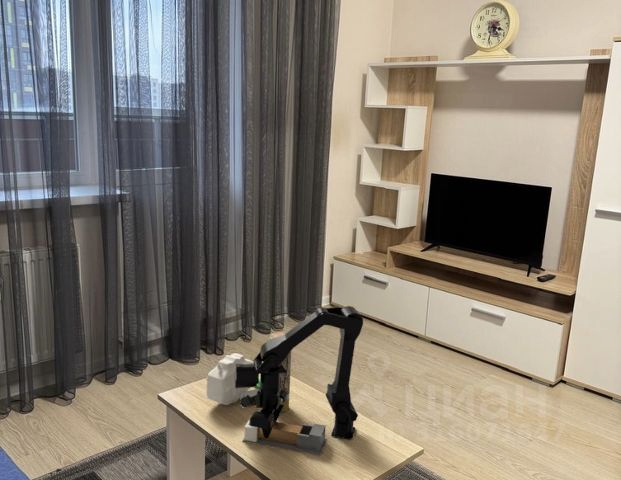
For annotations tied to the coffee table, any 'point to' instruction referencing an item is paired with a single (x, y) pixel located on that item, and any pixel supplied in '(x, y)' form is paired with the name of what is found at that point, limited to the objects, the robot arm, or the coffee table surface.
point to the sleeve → (311, 437)
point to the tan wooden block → (282, 433)
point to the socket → (250, 433)
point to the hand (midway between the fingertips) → (268, 433)
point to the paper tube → (284, 375)
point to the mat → (284, 445)
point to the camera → (225, 380)
